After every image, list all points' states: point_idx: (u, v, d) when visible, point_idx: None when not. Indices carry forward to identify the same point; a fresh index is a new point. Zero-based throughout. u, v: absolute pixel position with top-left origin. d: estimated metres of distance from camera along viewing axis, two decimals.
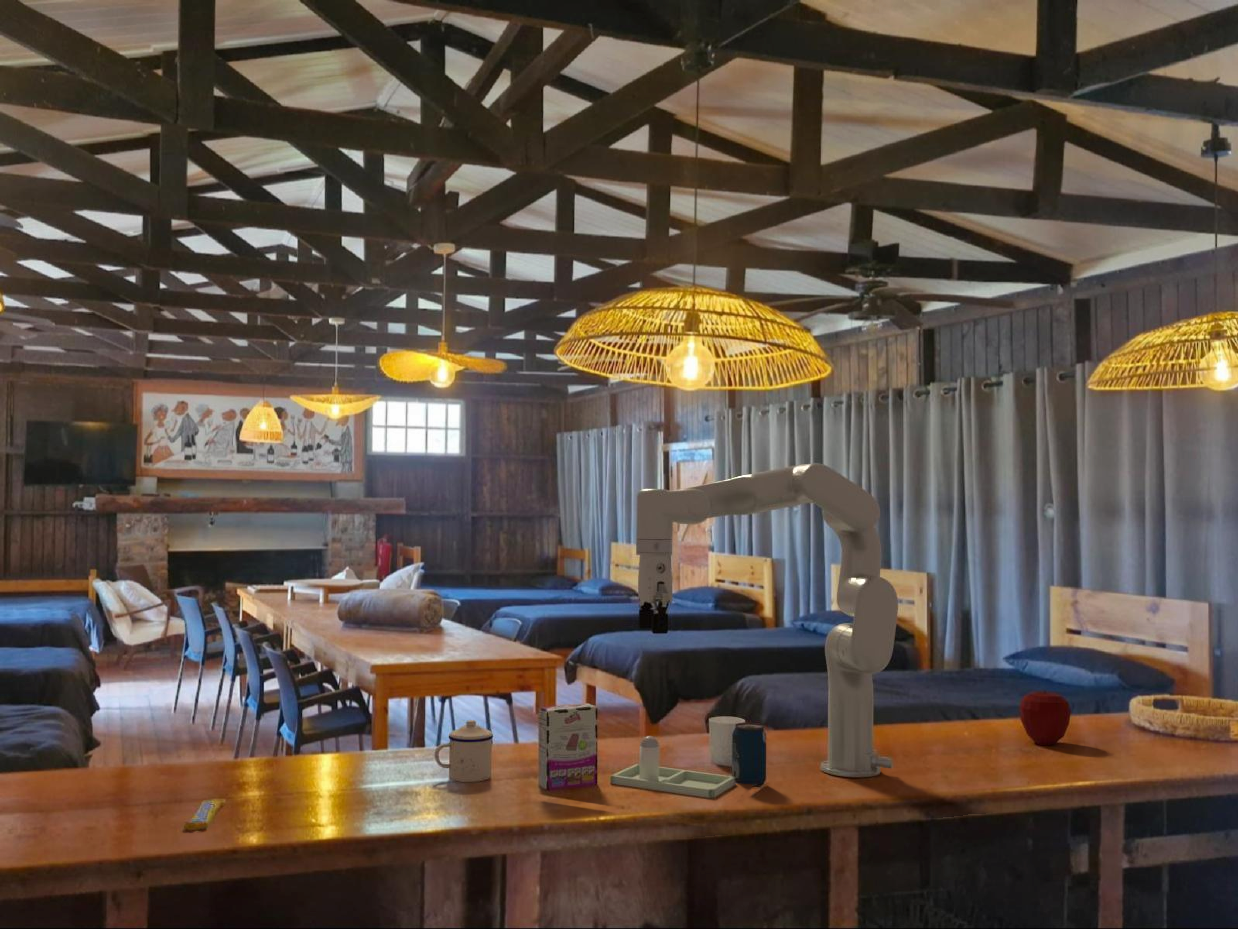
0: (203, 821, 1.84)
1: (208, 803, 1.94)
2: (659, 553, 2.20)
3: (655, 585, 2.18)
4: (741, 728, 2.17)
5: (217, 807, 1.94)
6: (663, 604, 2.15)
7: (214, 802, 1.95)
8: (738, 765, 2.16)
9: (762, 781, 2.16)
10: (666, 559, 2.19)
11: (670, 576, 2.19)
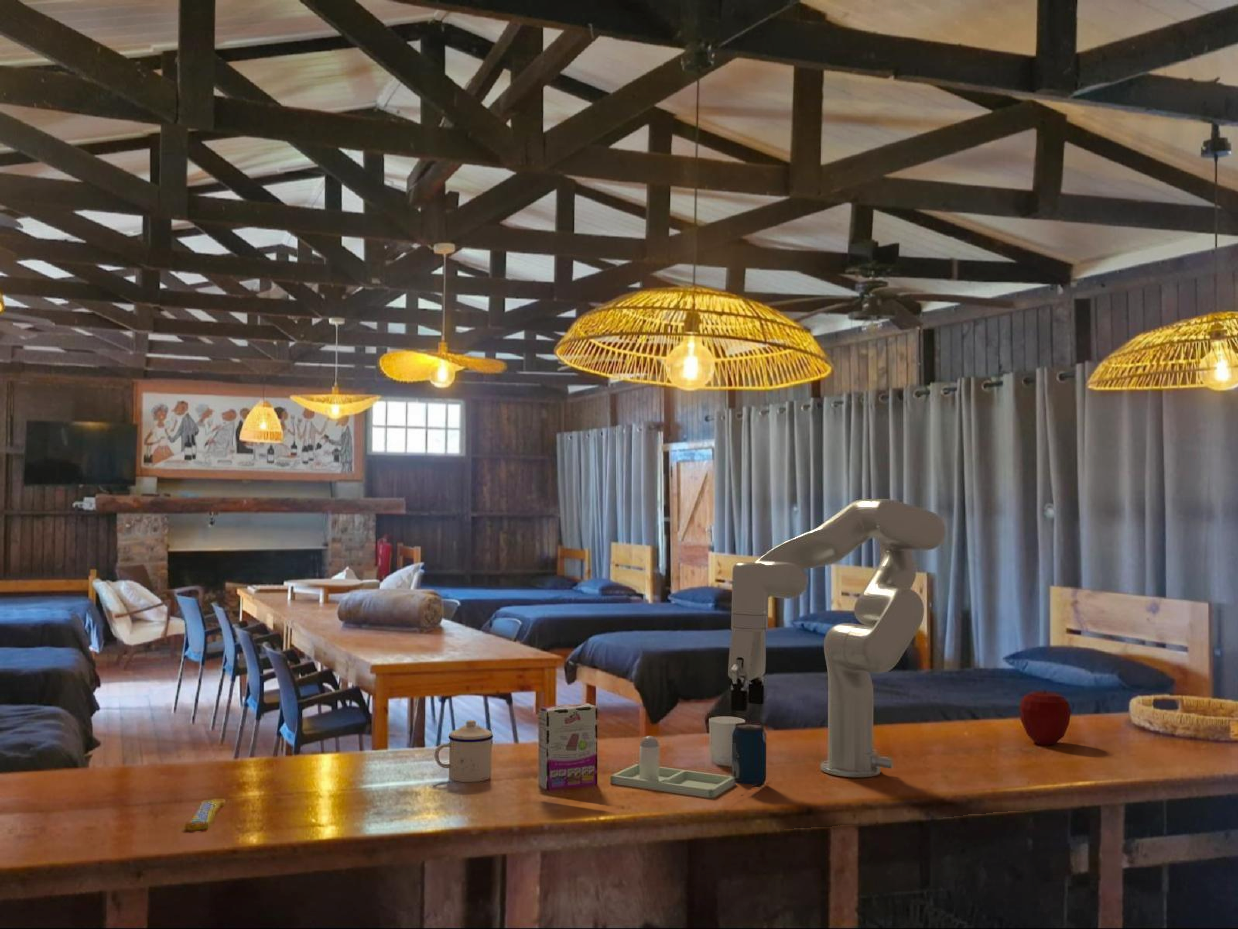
0: (204, 821, 1.84)
1: (208, 803, 1.94)
2: None
3: None
4: (741, 728, 2.17)
5: (217, 807, 1.94)
6: None
7: (214, 802, 1.95)
8: (738, 765, 2.16)
9: (762, 781, 2.16)
10: None
11: None
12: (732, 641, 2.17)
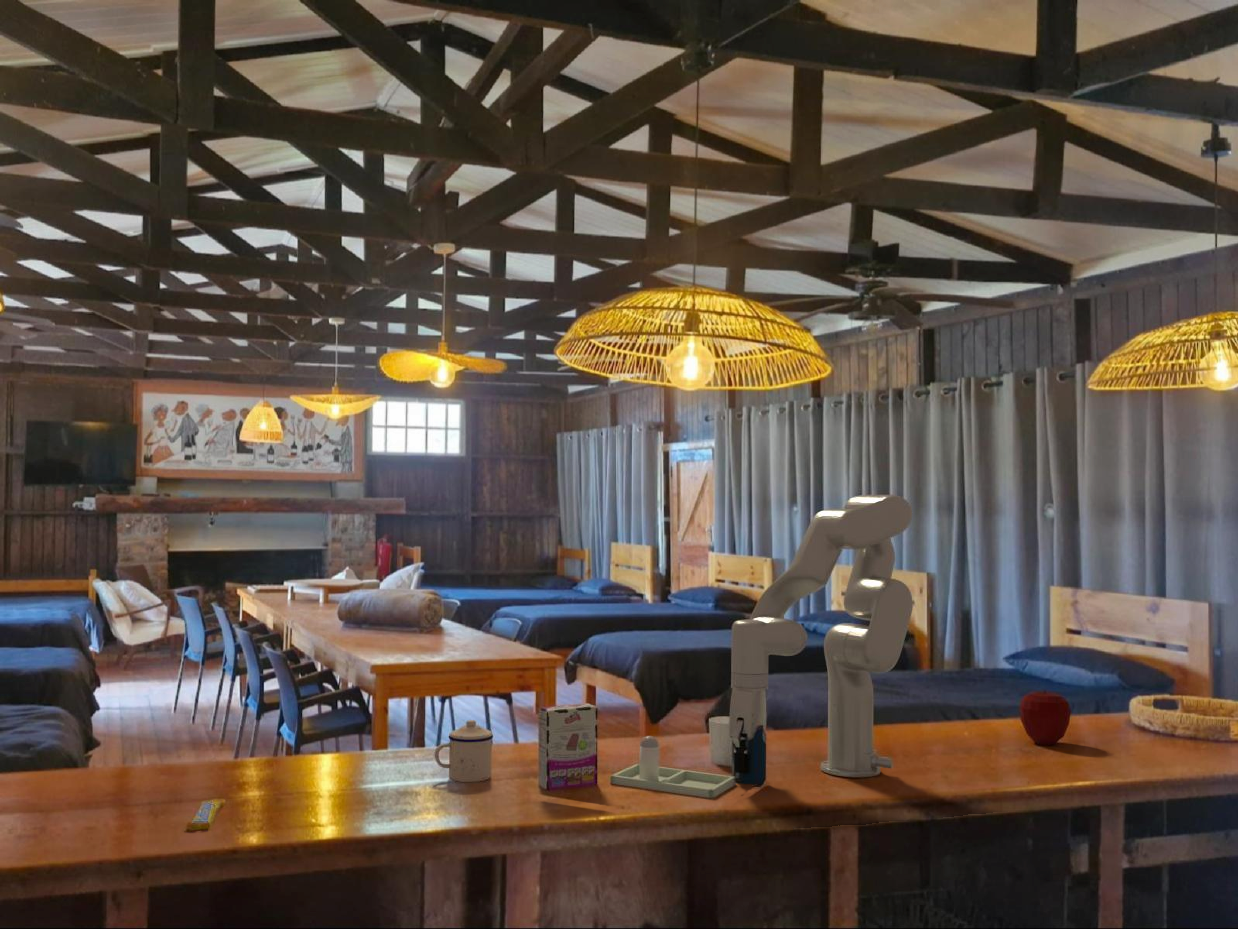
0: (205, 821, 1.84)
1: (208, 803, 1.94)
2: None
3: None
4: None
5: (217, 807, 1.94)
6: None
7: (214, 802, 1.95)
8: None
9: (762, 781, 2.16)
10: None
11: None
12: (732, 701, 2.16)
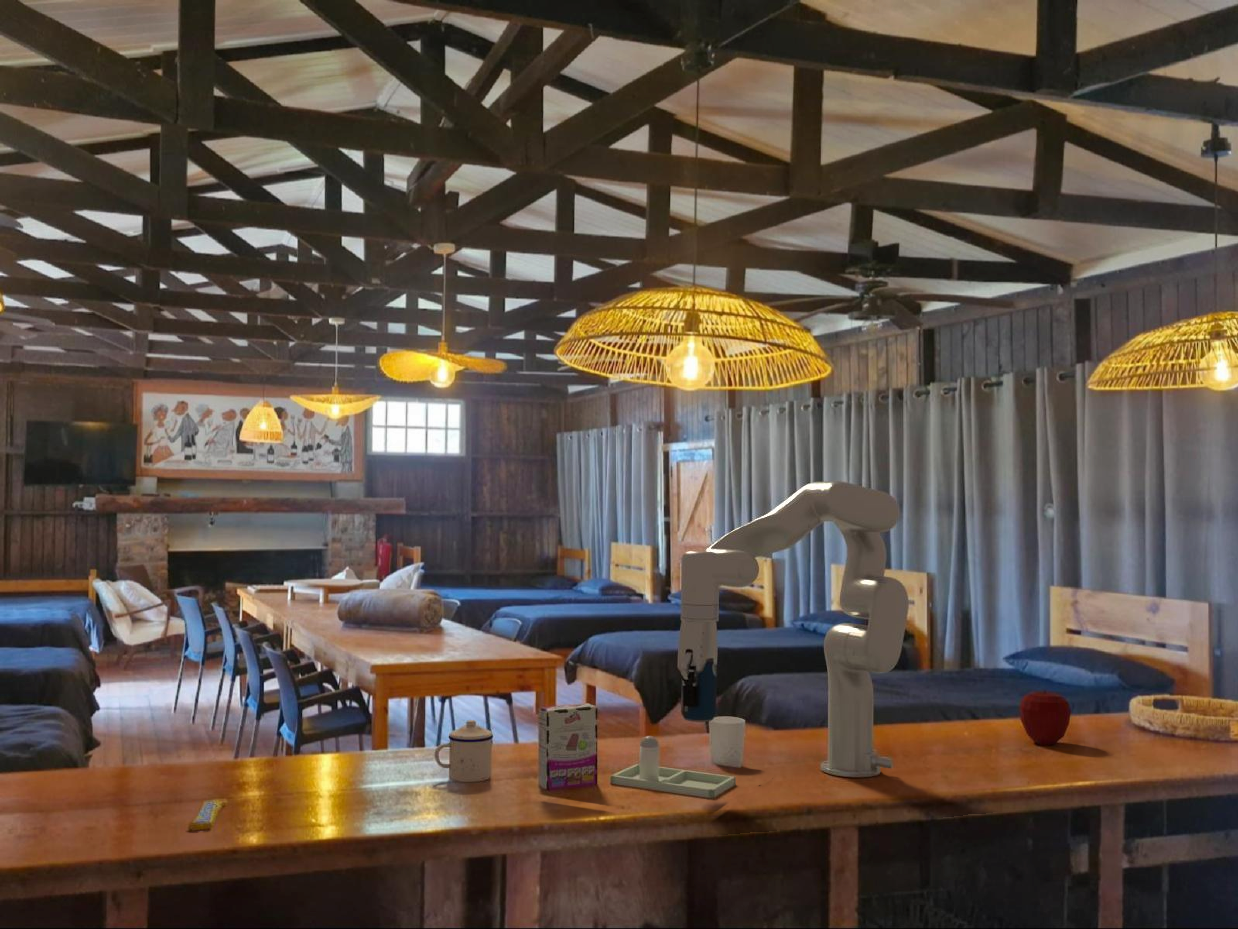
0: (207, 821, 1.84)
1: (210, 803, 1.94)
2: None
3: None
4: None
5: (219, 807, 1.94)
6: None
7: (216, 802, 1.95)
8: None
9: (712, 715, 2.10)
10: None
11: None
12: (681, 632, 2.10)
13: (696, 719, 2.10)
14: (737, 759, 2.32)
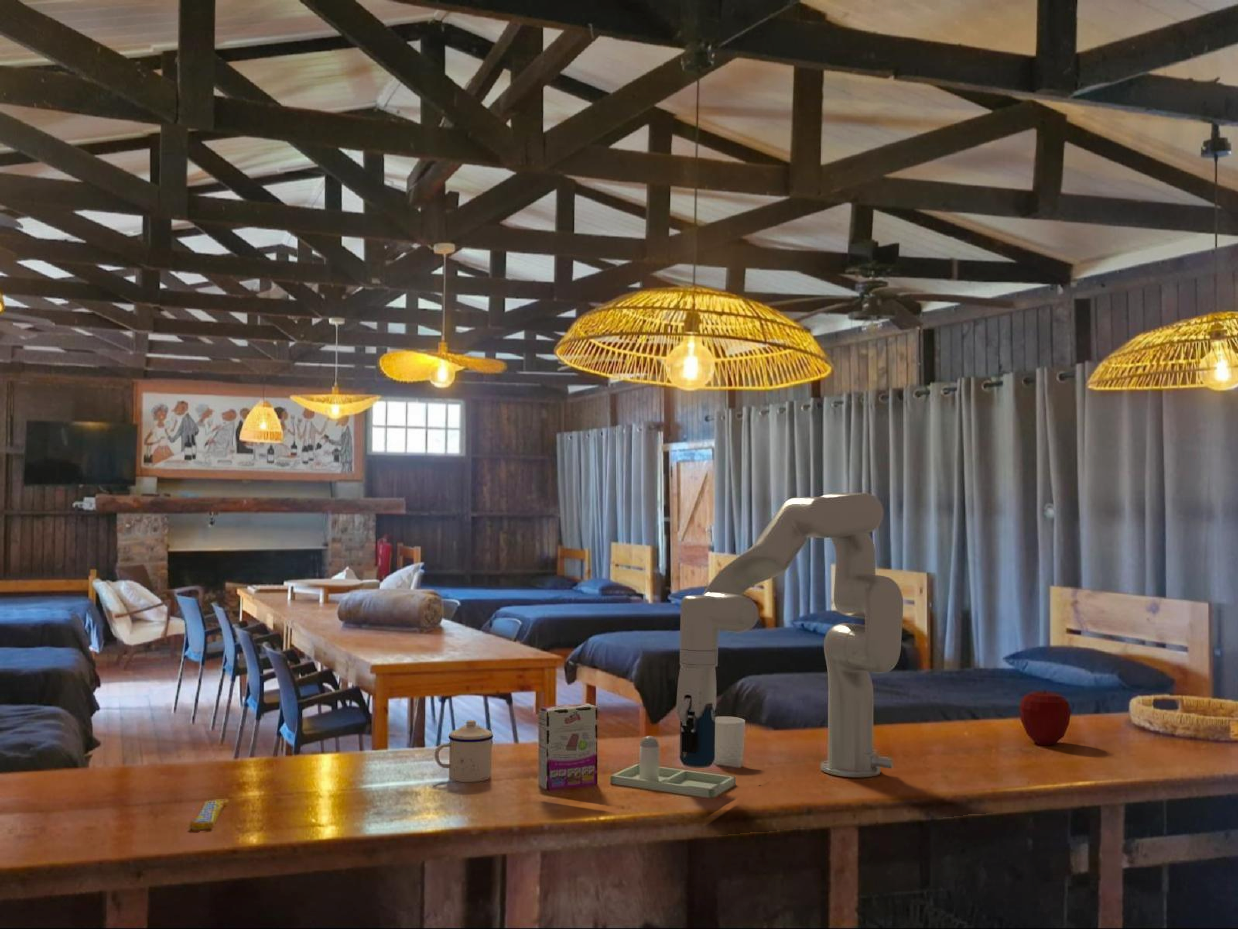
0: (208, 821, 1.84)
1: (211, 803, 1.94)
2: None
3: None
4: None
5: (220, 807, 1.94)
6: None
7: (217, 802, 1.95)
8: None
9: (710, 761, 2.10)
10: None
11: None
12: (680, 678, 2.10)
13: (694, 765, 2.09)
14: (737, 759, 2.32)
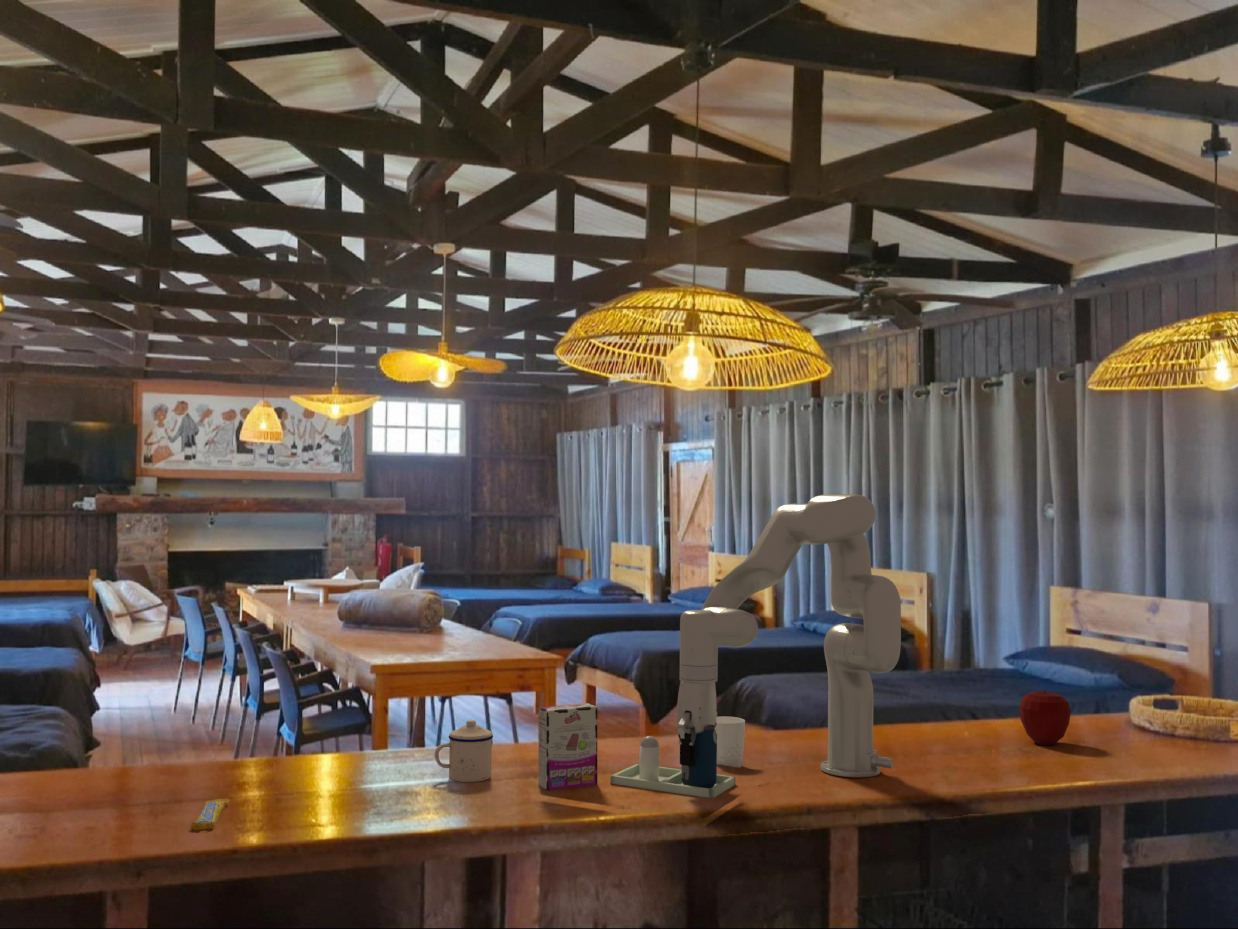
0: (209, 821, 1.84)
1: (212, 803, 1.94)
2: None
3: None
4: None
5: (222, 807, 1.94)
6: None
7: (218, 802, 1.95)
8: (688, 766, 2.10)
9: (712, 783, 2.10)
10: None
11: None
12: (680, 693, 2.10)
13: None
14: (737, 759, 2.32)
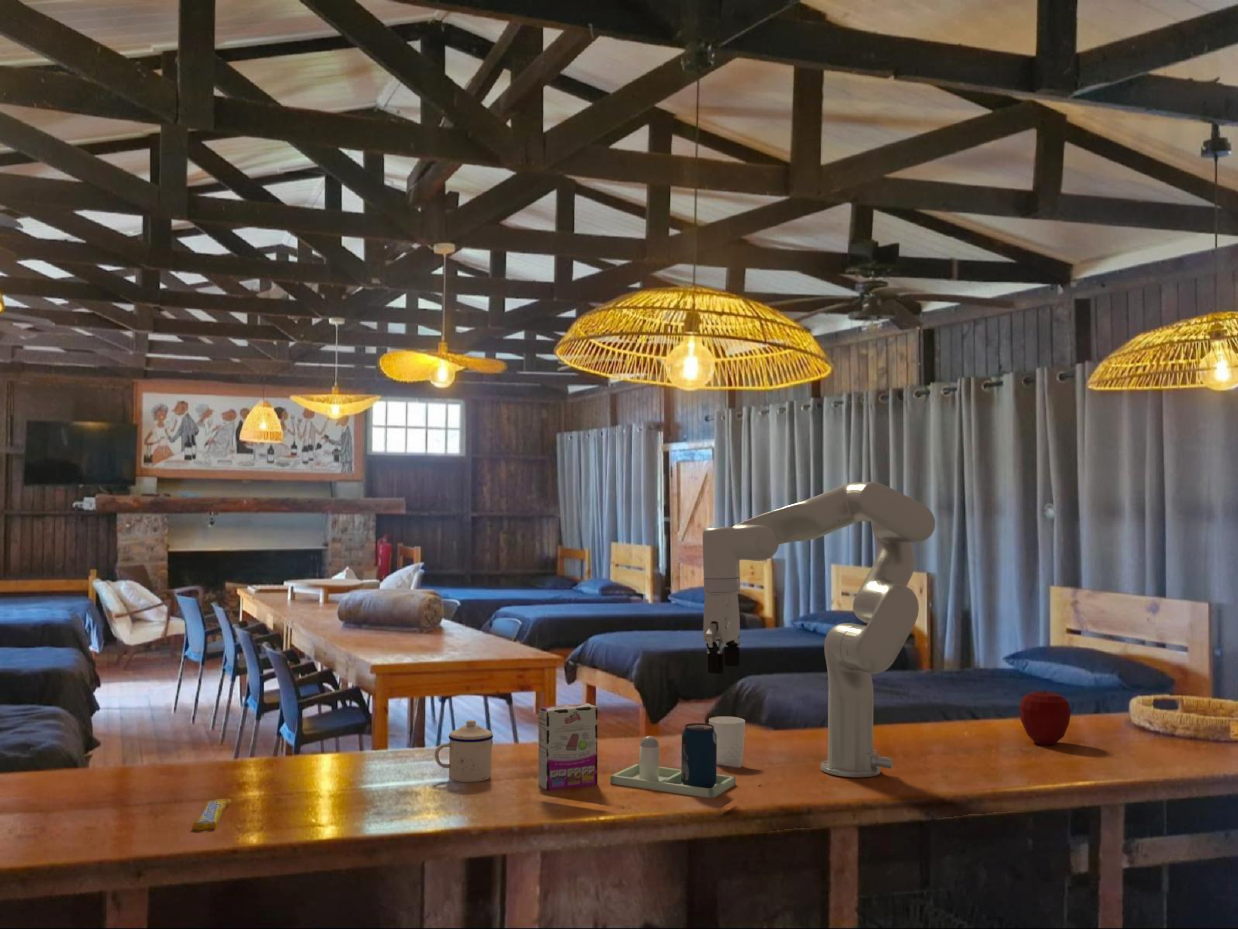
0: (211, 821, 1.84)
1: (214, 803, 1.94)
2: None
3: None
4: (691, 729, 2.10)
5: (223, 807, 1.94)
6: None
7: (220, 802, 1.95)
8: (688, 767, 2.10)
9: (712, 783, 2.10)
10: None
11: None
12: (706, 606, 2.19)
13: None
14: (737, 759, 2.32)
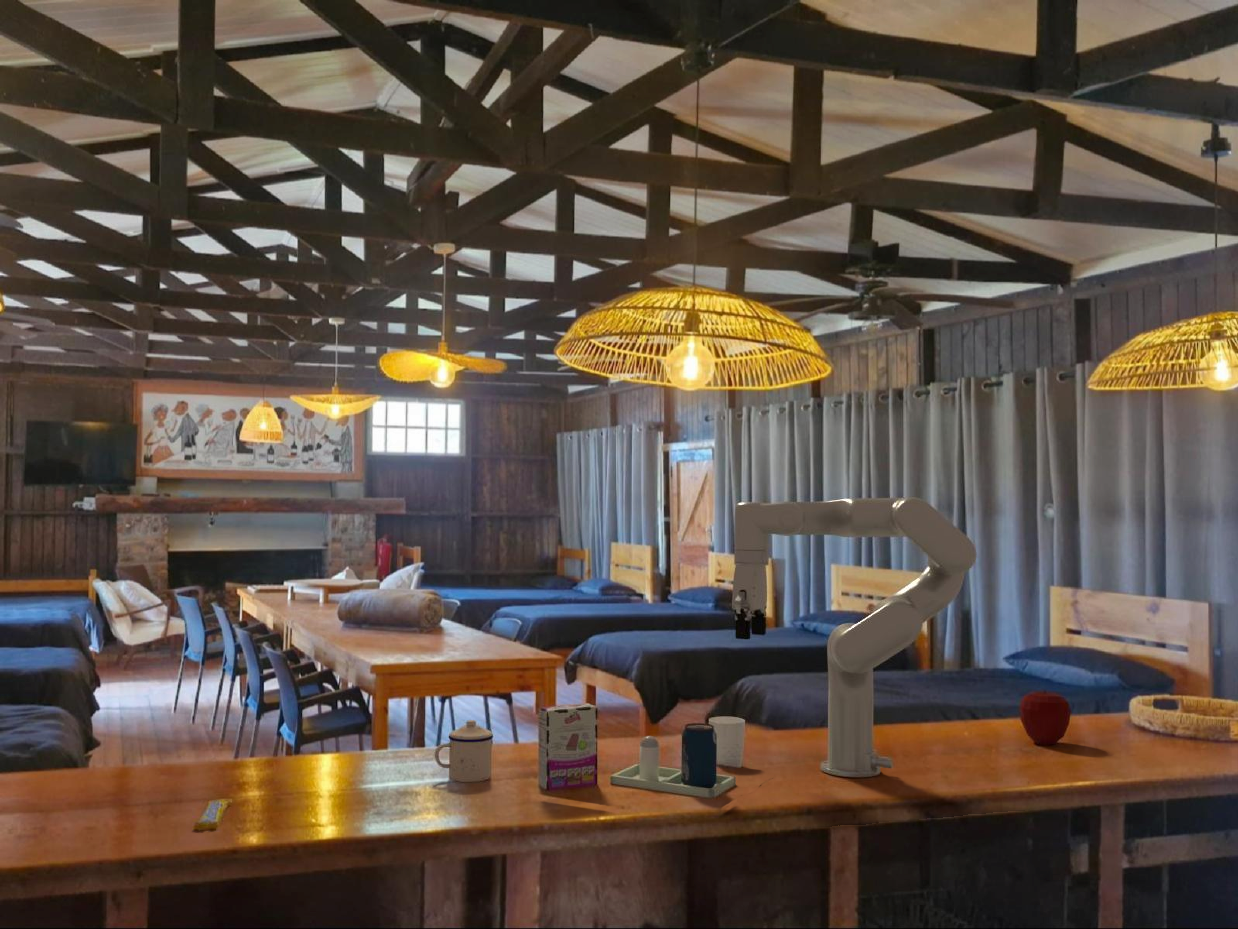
0: (213, 821, 1.84)
1: (216, 803, 1.94)
2: None
3: None
4: (691, 729, 2.10)
5: (225, 807, 1.94)
6: None
7: (221, 802, 1.96)
8: (688, 767, 2.10)
9: (712, 783, 2.10)
10: None
11: None
12: (735, 575, 2.32)
13: None
14: (737, 759, 2.32)
